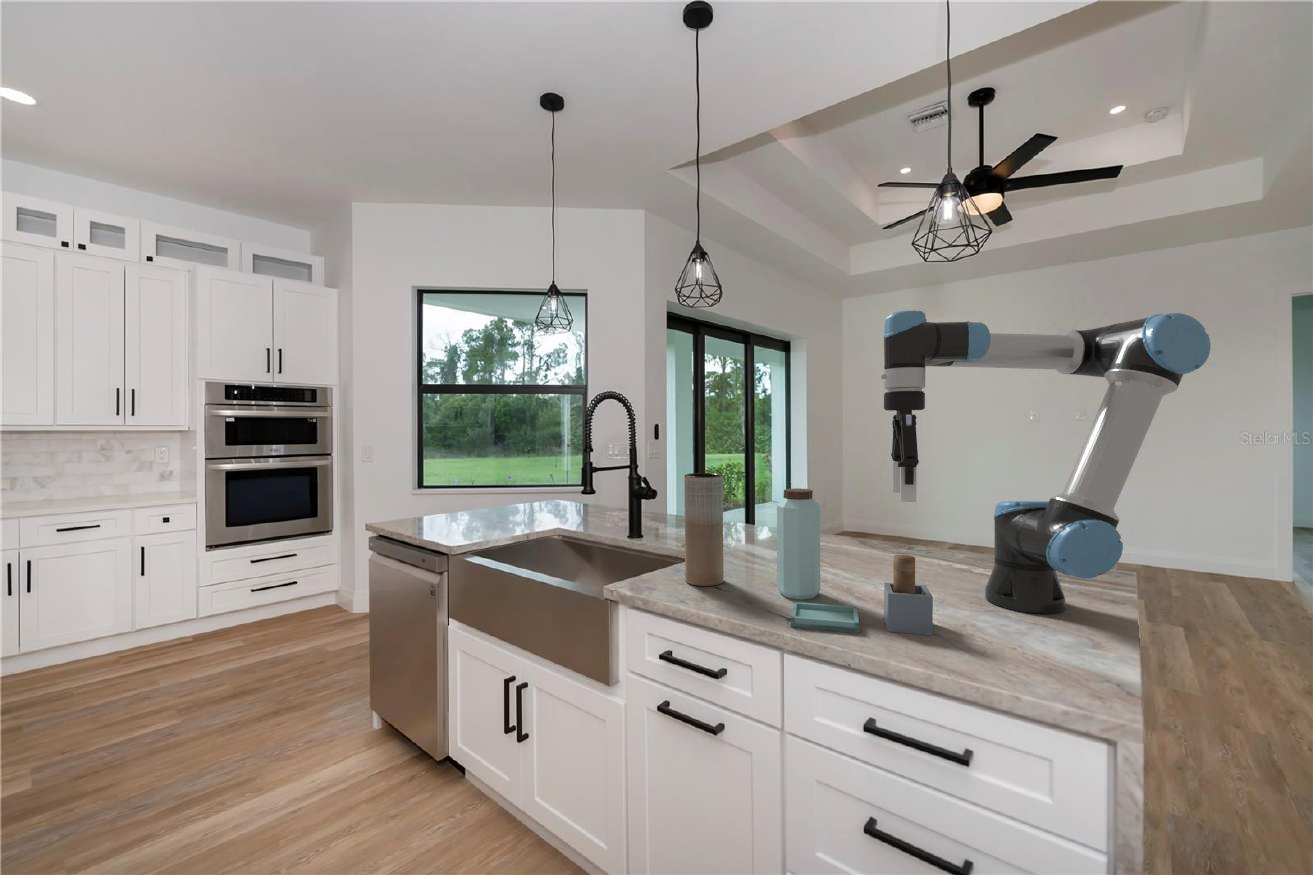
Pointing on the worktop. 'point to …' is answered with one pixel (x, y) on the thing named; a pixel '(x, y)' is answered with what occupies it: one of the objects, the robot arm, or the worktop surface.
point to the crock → (908, 610)
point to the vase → (704, 529)
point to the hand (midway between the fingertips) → (903, 497)
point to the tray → (825, 617)
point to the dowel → (904, 574)
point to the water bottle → (798, 544)
